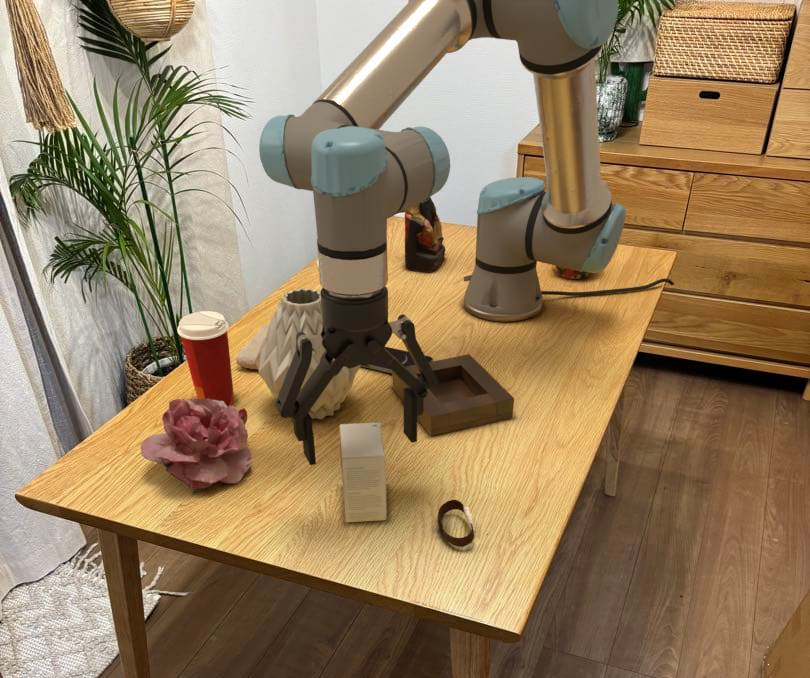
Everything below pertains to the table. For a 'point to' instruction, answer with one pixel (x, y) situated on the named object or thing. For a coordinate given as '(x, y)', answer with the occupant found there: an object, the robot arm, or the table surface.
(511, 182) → the robot arm
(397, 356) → the smartphone
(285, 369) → the vase
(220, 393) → the paper cup
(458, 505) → the watch
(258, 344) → the washcloth
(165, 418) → the flower
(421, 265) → the statue
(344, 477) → the small box
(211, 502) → the table surface
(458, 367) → the square wooden frame
